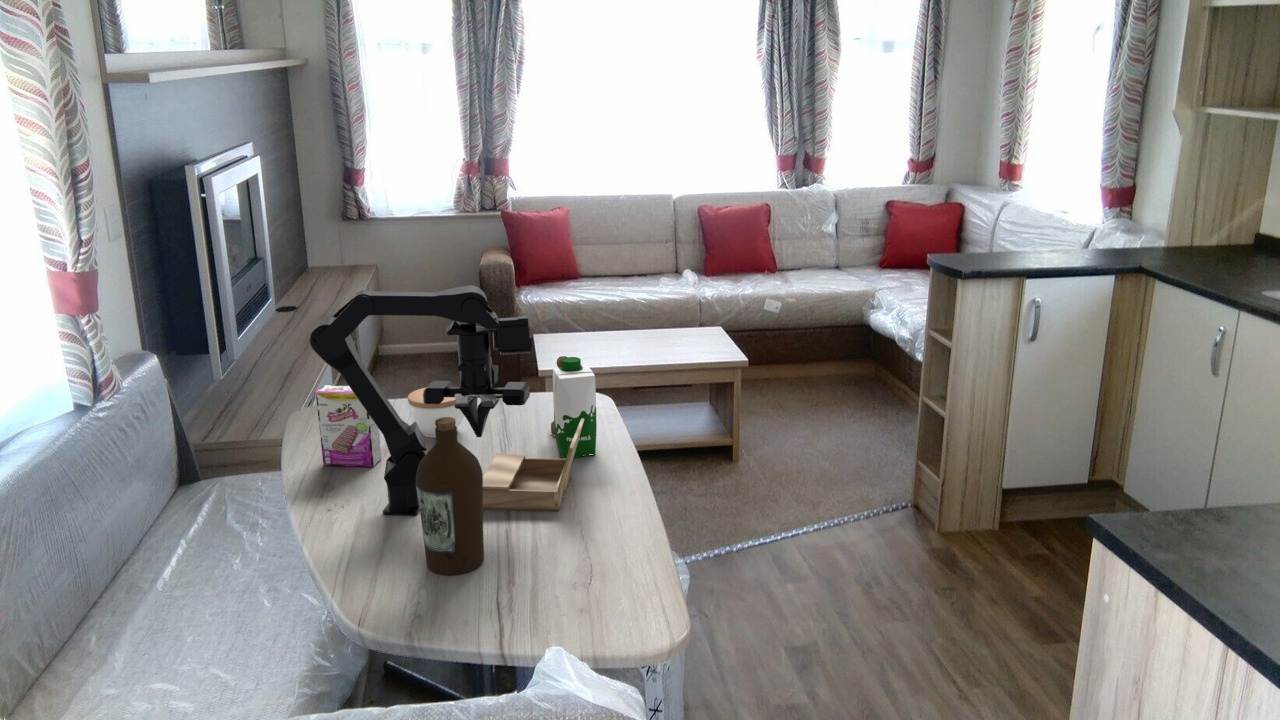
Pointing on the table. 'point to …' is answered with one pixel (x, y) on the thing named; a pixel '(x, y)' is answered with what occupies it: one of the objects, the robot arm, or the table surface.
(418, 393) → the lidded bowl
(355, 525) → the table surface
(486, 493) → the wooden box
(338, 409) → the candy bar box
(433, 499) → the olive oil
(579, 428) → the flap
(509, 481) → the flap
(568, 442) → the milk carton
